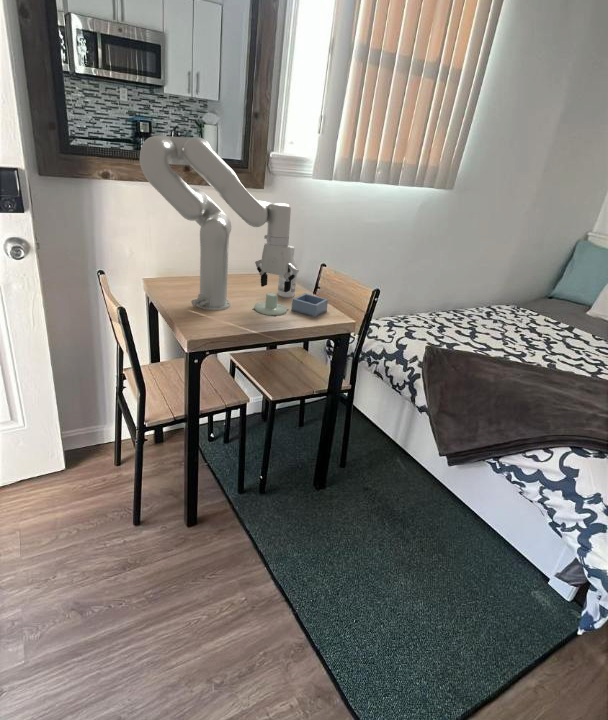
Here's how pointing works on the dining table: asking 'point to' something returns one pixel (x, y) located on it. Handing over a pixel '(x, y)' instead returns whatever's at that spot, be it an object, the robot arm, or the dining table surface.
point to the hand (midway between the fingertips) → (275, 288)
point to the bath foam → (282, 279)
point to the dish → (309, 305)
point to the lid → (270, 306)
